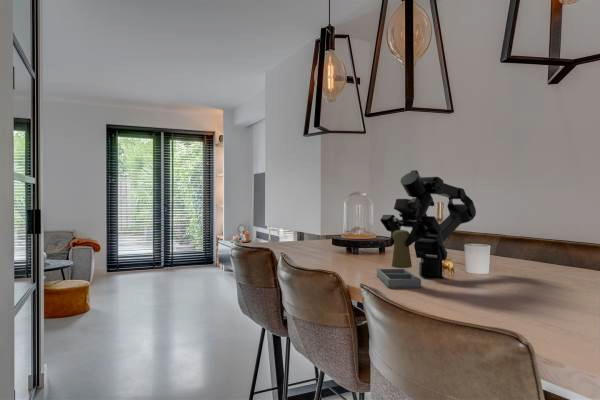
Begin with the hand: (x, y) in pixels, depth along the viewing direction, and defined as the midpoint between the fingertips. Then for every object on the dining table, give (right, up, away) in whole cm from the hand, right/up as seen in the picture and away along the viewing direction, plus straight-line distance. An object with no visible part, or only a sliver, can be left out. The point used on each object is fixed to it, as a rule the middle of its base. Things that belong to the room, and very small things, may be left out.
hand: (398, 245), depth 127 cm
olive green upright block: (+1, -7, +1) cm, 7 cm away
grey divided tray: (+1, -12, +6) cm, 13 cm away
